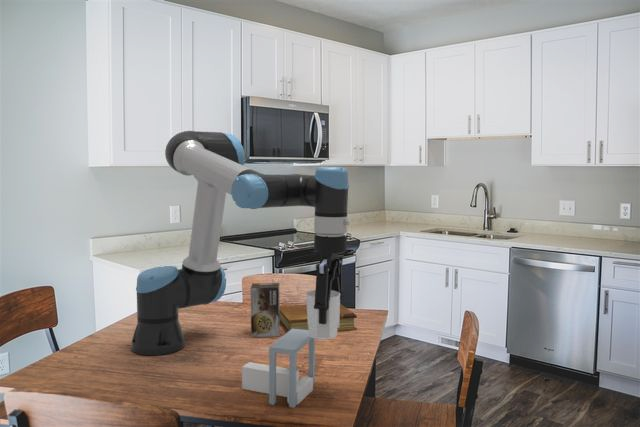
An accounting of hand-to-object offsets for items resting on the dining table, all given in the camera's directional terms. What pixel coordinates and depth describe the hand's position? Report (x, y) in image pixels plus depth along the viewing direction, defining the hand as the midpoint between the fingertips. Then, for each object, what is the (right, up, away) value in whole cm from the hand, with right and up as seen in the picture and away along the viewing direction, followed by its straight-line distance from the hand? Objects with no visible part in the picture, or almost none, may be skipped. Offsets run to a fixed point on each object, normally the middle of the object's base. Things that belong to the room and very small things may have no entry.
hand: (328, 331), depth 124 cm
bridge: (-8, -15, +2) cm, 17 cm away
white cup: (-1, -1, +1) cm, 2 cm away
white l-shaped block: (-13, -15, +3) cm, 20 cm away
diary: (-4, -11, +58) cm, 60 cm away
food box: (-20, -12, +48) cm, 53 cm away
